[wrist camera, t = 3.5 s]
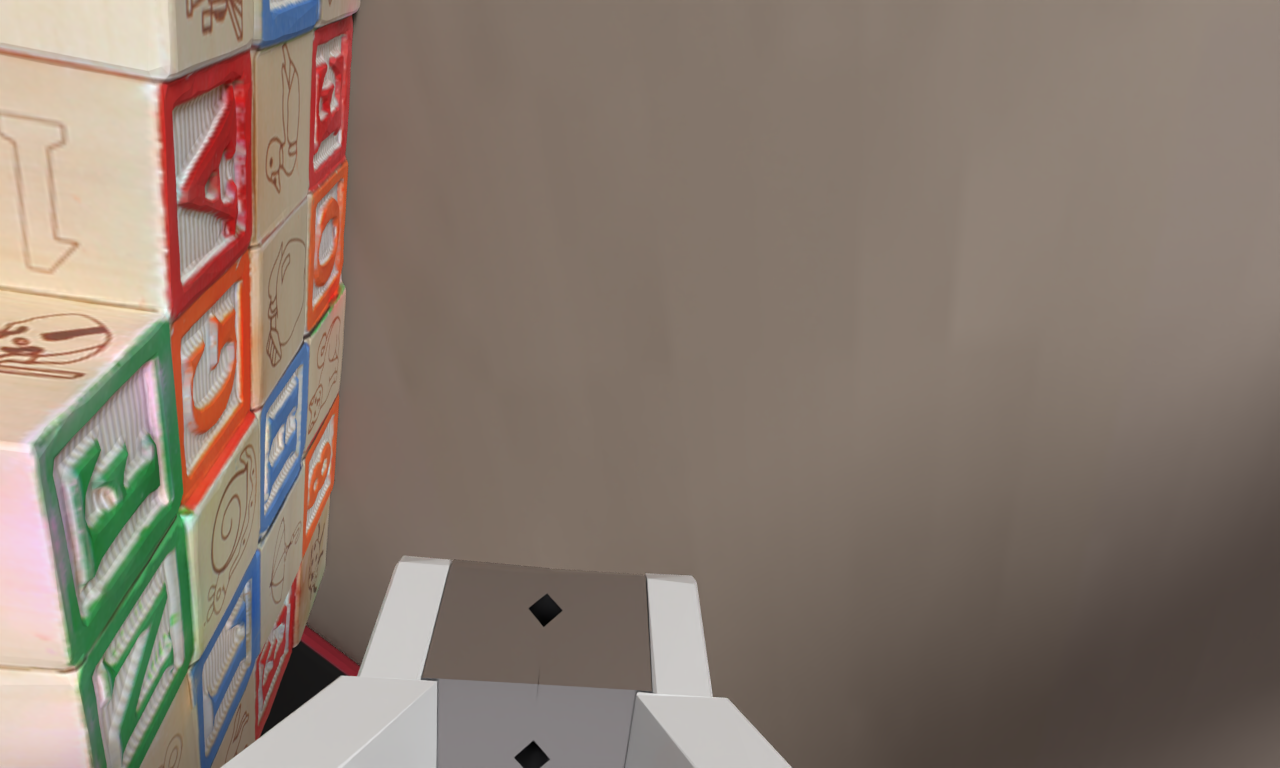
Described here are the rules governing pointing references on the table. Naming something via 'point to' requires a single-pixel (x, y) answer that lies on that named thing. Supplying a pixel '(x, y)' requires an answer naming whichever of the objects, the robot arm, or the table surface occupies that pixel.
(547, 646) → the robot arm
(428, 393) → the table surface
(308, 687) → the smartphone
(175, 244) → the stack of blocks
